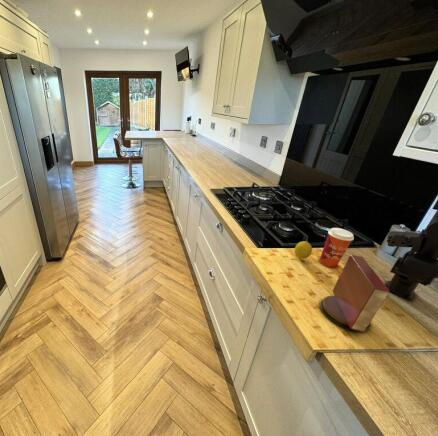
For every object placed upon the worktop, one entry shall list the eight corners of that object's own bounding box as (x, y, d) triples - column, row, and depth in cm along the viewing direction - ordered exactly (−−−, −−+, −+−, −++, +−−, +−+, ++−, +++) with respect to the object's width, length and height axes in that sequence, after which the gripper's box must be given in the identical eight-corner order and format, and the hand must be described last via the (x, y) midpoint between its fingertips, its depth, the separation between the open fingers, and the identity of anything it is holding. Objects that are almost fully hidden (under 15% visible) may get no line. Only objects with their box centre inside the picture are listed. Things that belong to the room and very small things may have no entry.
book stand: (356, 299, 73) (379, 260, 66) (381, 340, 60) (412, 296, 54) (316, 290, 76) (334, 251, 70) (331, 327, 64) (354, 284, 57)
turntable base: (335, 296, 76) (336, 294, 75) (378, 324, 66) (379, 322, 66) (311, 306, 72) (312, 303, 71) (353, 337, 62) (354, 335, 62)
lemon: (288, 256, 96) (294, 239, 92) (298, 253, 97) (304, 237, 94) (301, 263, 91) (307, 246, 87) (311, 261, 93) (318, 244, 89)
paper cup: (320, 267, 89) (335, 235, 83) (313, 256, 96) (325, 225, 90) (344, 271, 88) (360, 238, 82) (334, 259, 94) (349, 228, 88)
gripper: (404, 212, 69) (379, 255, 76) (391, 229, 59) (364, 277, 66) (463, 226, 62) (429, 273, 68) (460, 249, 51) (421, 302, 58)
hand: (409, 280), depth 65 cm, fingers closed
